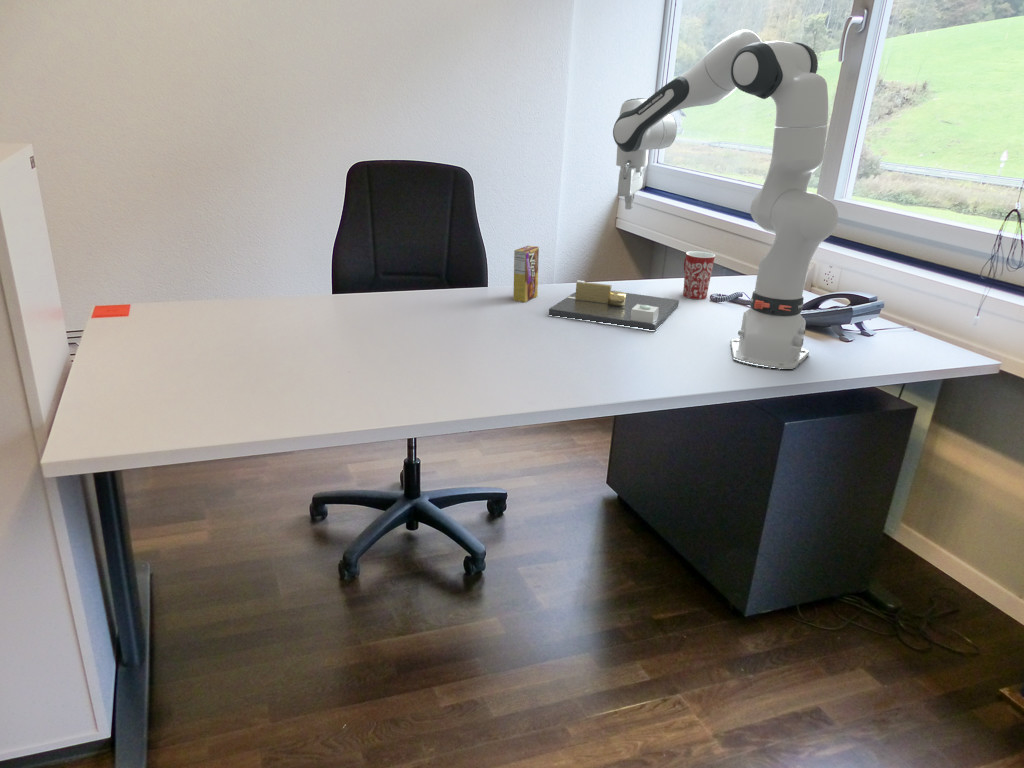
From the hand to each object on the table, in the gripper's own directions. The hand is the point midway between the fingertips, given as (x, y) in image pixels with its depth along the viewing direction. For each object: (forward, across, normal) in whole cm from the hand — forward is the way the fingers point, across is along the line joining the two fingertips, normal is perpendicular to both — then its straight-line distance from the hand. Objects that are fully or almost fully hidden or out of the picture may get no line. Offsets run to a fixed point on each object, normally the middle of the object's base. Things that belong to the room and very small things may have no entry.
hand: (629, 208), depth 216 cm
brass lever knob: (+25, -13, +4) cm, 29 cm away
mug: (+28, +17, -19) cm, 38 cm away
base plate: (+27, -13, 0) cm, 30 cm away
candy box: (+27, -12, +28) cm, 40 cm away
